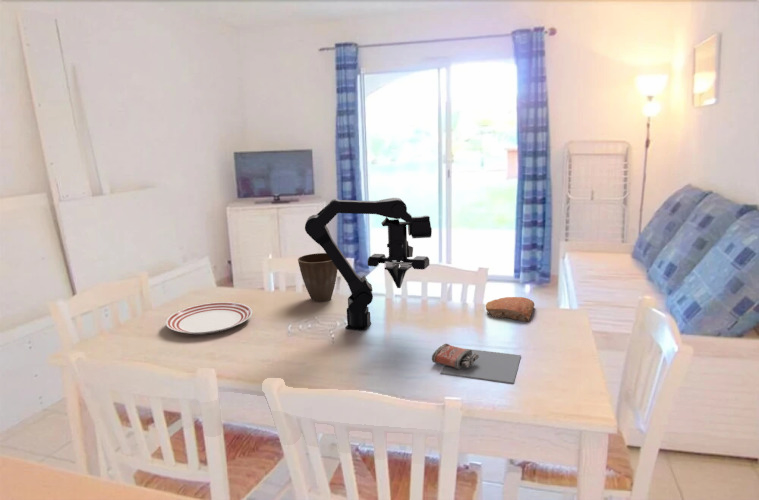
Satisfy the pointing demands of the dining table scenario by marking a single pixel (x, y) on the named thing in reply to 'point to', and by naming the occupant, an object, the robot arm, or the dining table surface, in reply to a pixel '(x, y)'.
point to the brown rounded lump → (511, 308)
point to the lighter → (454, 356)
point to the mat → (488, 367)
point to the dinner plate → (209, 317)
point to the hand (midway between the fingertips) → (399, 287)
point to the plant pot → (318, 275)
